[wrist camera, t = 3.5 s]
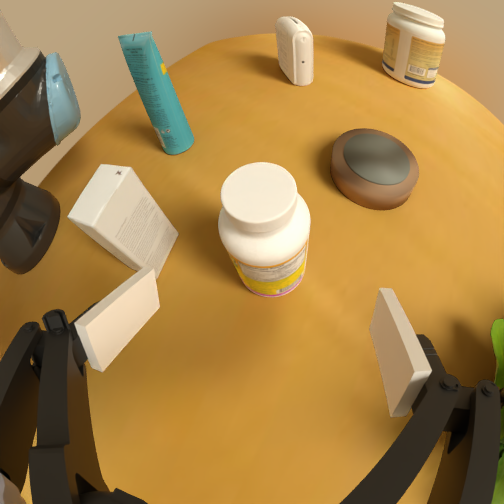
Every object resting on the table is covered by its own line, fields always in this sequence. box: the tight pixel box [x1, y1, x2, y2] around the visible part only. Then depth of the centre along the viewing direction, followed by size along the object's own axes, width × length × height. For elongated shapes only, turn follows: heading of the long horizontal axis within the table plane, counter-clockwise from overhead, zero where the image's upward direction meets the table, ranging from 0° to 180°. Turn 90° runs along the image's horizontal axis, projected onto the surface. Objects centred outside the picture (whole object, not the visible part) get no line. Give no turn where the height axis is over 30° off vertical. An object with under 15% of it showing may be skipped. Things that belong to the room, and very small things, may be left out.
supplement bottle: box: [218, 162, 310, 297], centre depth 22 cm, size 7×7×13 cm
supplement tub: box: [382, 2, 445, 88], centre depth 34 cm, size 12×12×17 cm
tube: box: [118, 31, 194, 155], centre depth 29 cm, size 7×5×19 cm, turn 59°
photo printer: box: [275, 16, 313, 86], centre depth 38 cm, size 10×4×12 cm, turn 13°
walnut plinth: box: [330, 129, 419, 210], centre depth 30 cm, size 11×11×3 cm
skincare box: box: [68, 164, 179, 279], centre depth 25 cm, size 6×4×12 cm
